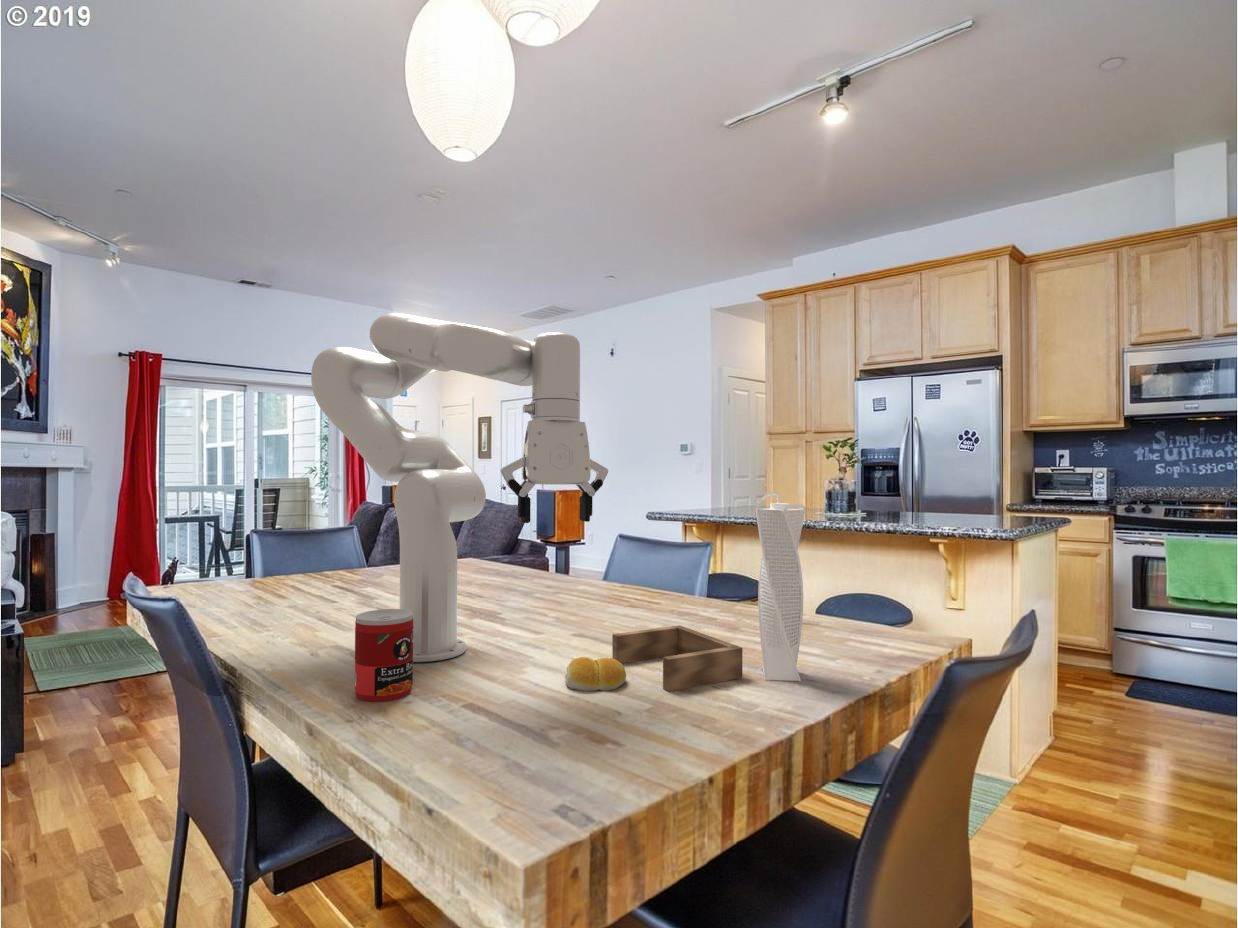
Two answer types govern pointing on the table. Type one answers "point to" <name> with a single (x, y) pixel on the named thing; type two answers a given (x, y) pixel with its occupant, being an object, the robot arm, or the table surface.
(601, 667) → the bread roll
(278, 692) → the table surface
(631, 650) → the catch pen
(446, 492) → the robot arm
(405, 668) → the canned food
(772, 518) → the skyscraper
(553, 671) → the table surface
